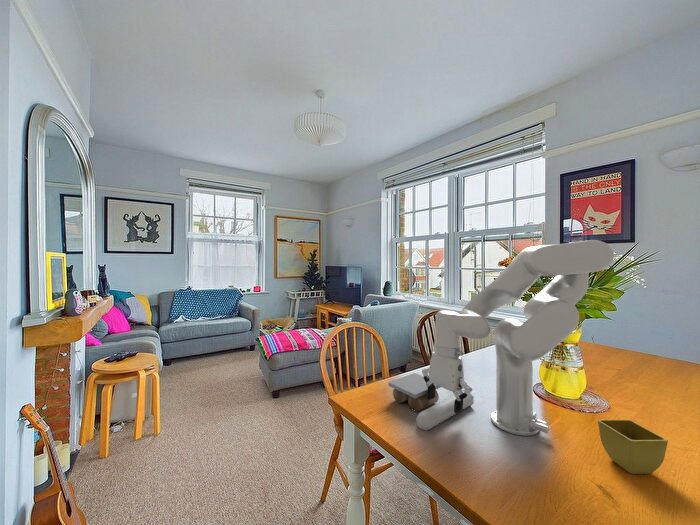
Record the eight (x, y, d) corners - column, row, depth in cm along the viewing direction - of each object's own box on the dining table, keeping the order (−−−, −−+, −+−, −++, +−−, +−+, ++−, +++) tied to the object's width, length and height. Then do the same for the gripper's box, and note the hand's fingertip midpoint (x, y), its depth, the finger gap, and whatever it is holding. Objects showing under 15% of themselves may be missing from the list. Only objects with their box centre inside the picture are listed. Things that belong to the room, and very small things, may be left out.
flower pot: (630, 454, 73) (630, 418, 73) (669, 480, 64) (669, 440, 64) (596, 454, 73) (596, 419, 73) (631, 481, 64) (631, 440, 64)
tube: (429, 423, 81) (476, 396, 96) (415, 409, 85) (462, 386, 100) (424, 438, 82) (471, 409, 97) (410, 424, 86) (457, 399, 101)
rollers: (438, 404, 98) (438, 390, 98) (419, 414, 92) (419, 398, 92) (411, 392, 108) (411, 378, 108) (392, 399, 102) (392, 385, 102)
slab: (441, 386, 100) (441, 383, 100) (415, 398, 91) (415, 394, 91) (414, 376, 109) (414, 372, 109) (388, 385, 101) (388, 382, 101)
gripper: (479, 356, 85) (476, 414, 85) (431, 342, 99) (428, 391, 99) (465, 361, 81) (462, 421, 81) (417, 345, 94) (414, 396, 95)
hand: (444, 404), depth 90 cm, fingers open, 9 cm apart
